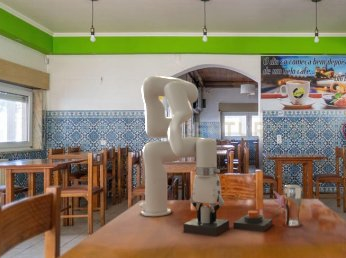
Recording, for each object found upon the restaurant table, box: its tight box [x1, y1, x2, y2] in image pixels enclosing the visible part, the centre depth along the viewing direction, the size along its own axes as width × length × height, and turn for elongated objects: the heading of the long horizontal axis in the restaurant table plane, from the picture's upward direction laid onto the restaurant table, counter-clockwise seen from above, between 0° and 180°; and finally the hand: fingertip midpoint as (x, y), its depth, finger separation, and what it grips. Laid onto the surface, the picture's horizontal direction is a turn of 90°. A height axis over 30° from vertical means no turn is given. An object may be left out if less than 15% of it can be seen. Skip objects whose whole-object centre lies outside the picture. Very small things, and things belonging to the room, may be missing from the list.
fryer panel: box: [183, 217, 230, 237], centre depth 130 cm, size 13×11×3 cm
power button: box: [247, 210, 260, 218], centre depth 134 cm, size 4×4×2 cm
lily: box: [273, 190, 285, 216], centre depth 153 cm, size 12×12×10 cm
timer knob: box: [201, 205, 211, 223], centre depth 130 cm, size 4×4×6 cm
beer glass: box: [282, 184, 302, 228], centre depth 136 cm, size 7×7×15 cm
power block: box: [233, 213, 273, 233], centre depth 134 cm, size 12×10×4 cm
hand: (206, 221), depth 130 cm, fingers closed on fryer panel, timer knob, 4 cm apart
